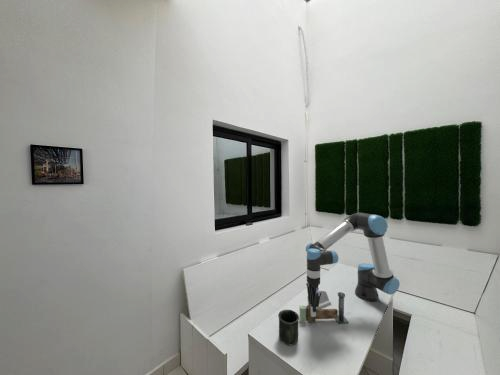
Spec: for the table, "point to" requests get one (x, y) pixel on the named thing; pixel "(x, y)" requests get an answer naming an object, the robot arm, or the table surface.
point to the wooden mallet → (321, 314)
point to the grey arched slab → (322, 300)
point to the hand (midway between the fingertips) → (313, 315)
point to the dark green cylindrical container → (288, 326)
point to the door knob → (341, 310)
